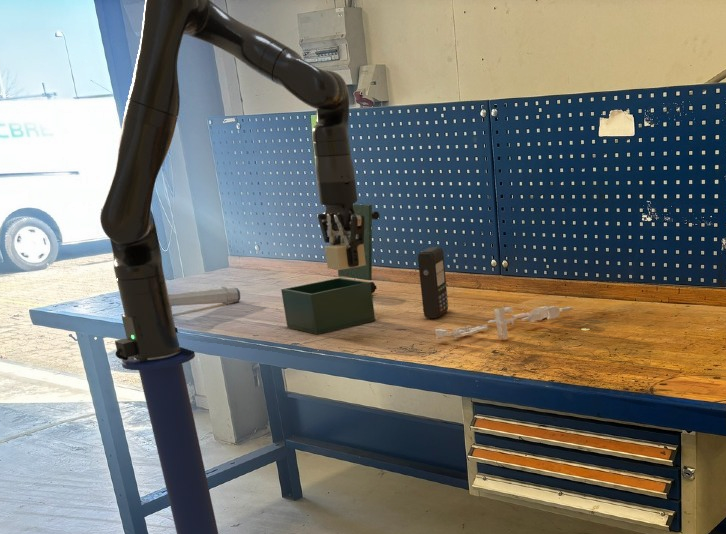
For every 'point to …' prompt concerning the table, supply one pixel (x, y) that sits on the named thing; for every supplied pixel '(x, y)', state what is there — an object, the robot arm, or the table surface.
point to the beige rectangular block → (342, 256)
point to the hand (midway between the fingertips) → (346, 264)
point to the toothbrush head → (205, 297)
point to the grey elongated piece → (505, 321)
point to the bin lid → (366, 270)
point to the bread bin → (328, 305)
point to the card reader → (433, 282)
